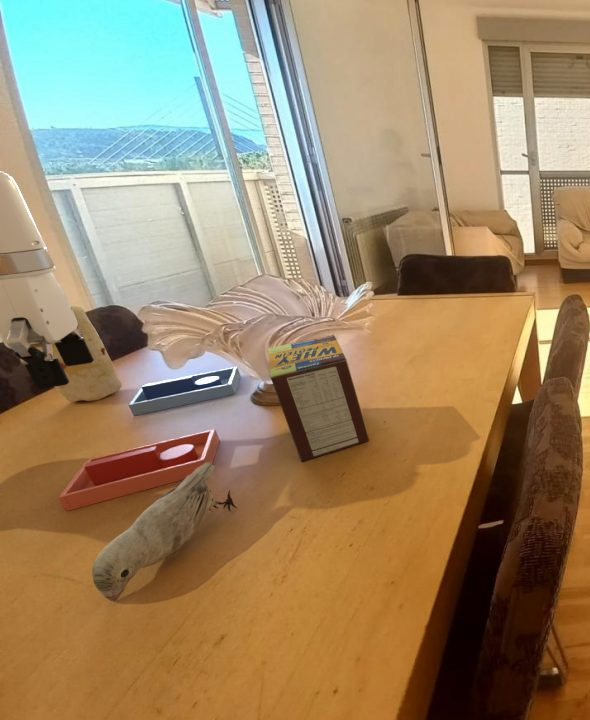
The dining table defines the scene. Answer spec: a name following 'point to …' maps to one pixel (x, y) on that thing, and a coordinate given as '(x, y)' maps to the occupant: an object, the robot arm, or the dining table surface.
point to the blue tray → (189, 393)
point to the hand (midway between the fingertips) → (68, 374)
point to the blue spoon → (178, 386)
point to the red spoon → (138, 463)
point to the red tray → (86, 493)
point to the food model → (88, 367)
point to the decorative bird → (155, 533)
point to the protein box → (317, 396)
